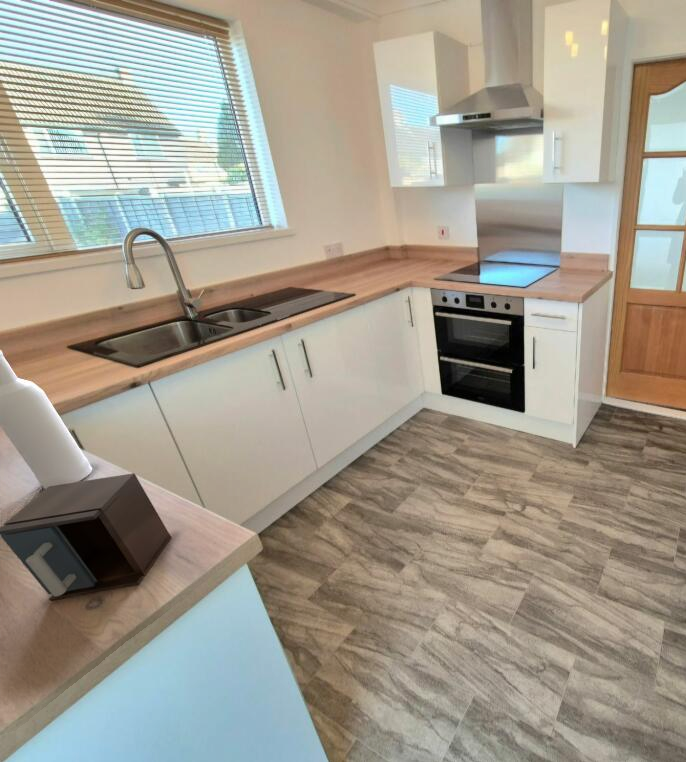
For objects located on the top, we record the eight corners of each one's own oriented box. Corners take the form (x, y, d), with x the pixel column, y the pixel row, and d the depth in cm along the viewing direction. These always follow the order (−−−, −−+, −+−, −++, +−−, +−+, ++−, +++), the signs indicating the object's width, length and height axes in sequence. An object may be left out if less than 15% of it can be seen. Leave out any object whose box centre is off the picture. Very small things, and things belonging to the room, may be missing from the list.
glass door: (30, 615, 60) (-23, 554, 55) (50, 592, 64) (2, 533, 58) (78, 606, 61) (30, 545, 56) (95, 584, 65) (52, 525, 59)
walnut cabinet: (50, 601, 63) (-7, 532, 57) (94, 551, 72) (48, 486, 66) (139, 584, 65) (93, 515, 59) (171, 537, 74) (134, 472, 67)
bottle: (53, 494, 86) (-43, 359, 73) (36, 485, 90) (-59, 353, 76) (100, 471, 93) (20, 342, 79) (82, 463, 96) (2, 338, 83)
